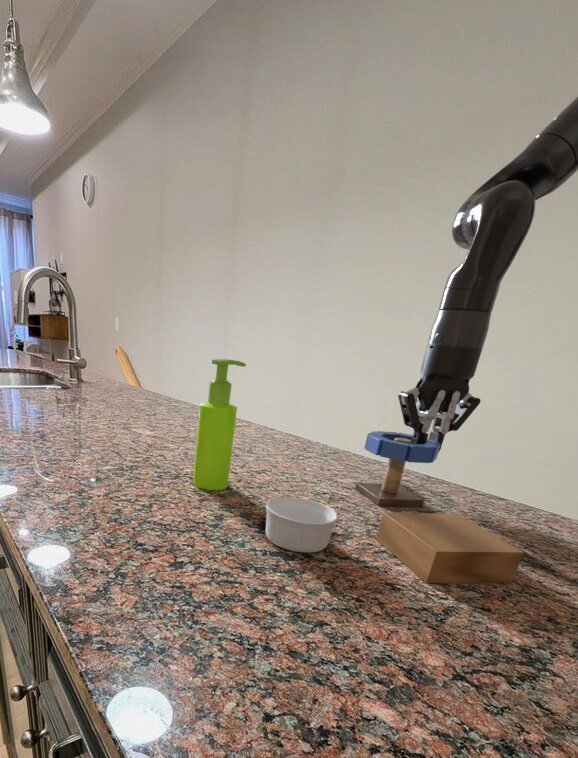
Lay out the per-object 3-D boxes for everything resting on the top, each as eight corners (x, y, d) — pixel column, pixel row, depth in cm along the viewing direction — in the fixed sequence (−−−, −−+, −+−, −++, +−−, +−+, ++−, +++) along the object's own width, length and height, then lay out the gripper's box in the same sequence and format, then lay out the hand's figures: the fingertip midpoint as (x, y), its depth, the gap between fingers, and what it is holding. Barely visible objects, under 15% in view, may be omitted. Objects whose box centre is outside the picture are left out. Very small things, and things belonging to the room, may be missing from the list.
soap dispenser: (239, 486, 75) (255, 362, 67) (206, 492, 71) (219, 360, 64) (218, 476, 79) (231, 358, 72) (186, 480, 76) (196, 356, 68)
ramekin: (279, 520, 63) (284, 491, 61) (340, 540, 59) (347, 509, 57) (249, 539, 56) (253, 508, 55) (315, 564, 52) (323, 530, 50)
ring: (409, 446, 79) (413, 433, 79) (449, 464, 70) (454, 448, 69) (354, 444, 78) (358, 429, 77) (387, 461, 68) (392, 445, 67)
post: (395, 490, 81) (410, 435, 77) (422, 507, 74) (440, 446, 70) (354, 488, 80) (368, 432, 76) (378, 505, 72) (394, 444, 69)
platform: (448, 540, 62) (457, 513, 60) (511, 583, 52) (524, 552, 50) (375, 539, 60) (382, 512, 58) (426, 583, 50) (437, 551, 48)
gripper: (476, 346, 72) (445, 450, 79) (399, 339, 70) (373, 447, 77) (513, 349, 66) (475, 462, 72) (429, 341, 63) (398, 459, 70)
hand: (423, 454), depth 74 cm, fingers closed on ring, 2 cm apart
